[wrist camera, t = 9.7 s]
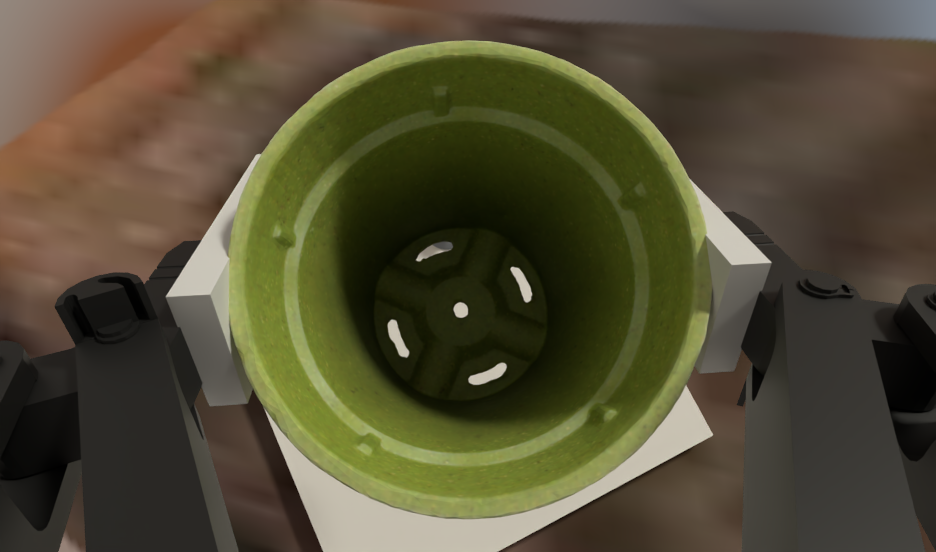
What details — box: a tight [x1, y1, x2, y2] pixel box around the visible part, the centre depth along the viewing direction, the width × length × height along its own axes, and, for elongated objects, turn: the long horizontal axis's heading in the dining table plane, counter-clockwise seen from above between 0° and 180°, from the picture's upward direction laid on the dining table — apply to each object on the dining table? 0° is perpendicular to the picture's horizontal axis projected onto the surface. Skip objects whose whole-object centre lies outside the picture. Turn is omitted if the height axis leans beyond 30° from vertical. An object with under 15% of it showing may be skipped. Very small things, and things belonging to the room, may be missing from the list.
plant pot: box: [227, 41, 712, 519], centre depth 15 cm, size 9×9×9 cm
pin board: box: [264, 242, 713, 552], centre depth 31 cm, size 22×22×3 cm
